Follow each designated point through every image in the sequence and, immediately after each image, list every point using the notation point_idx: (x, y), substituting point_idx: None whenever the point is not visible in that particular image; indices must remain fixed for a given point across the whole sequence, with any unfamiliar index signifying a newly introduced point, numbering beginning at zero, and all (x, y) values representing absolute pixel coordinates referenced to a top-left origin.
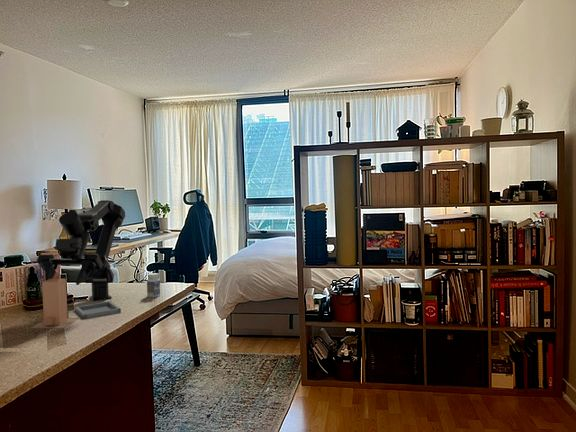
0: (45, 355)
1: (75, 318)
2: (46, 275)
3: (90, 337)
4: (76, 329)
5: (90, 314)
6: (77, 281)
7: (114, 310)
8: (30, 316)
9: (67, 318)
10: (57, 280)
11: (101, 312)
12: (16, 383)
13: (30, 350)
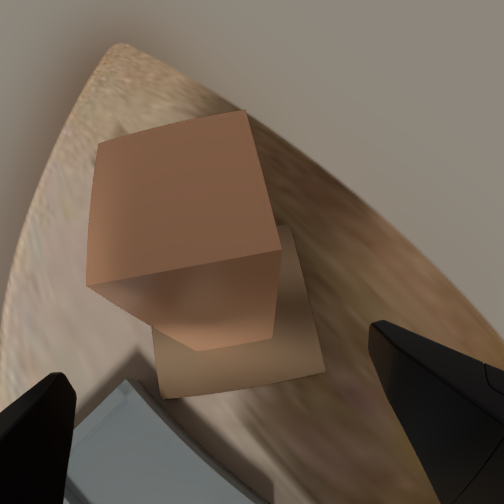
0: (112, 105)
1: (175, 381)
2: (452, 360)
3: (48, 212)
4: None
5: (107, 398)
6: (43, 380)
7: None
8: None
9: (216, 378)
10: (131, 188)
11: (77, 426)
12: (113, 49)
13: (160, 112)
